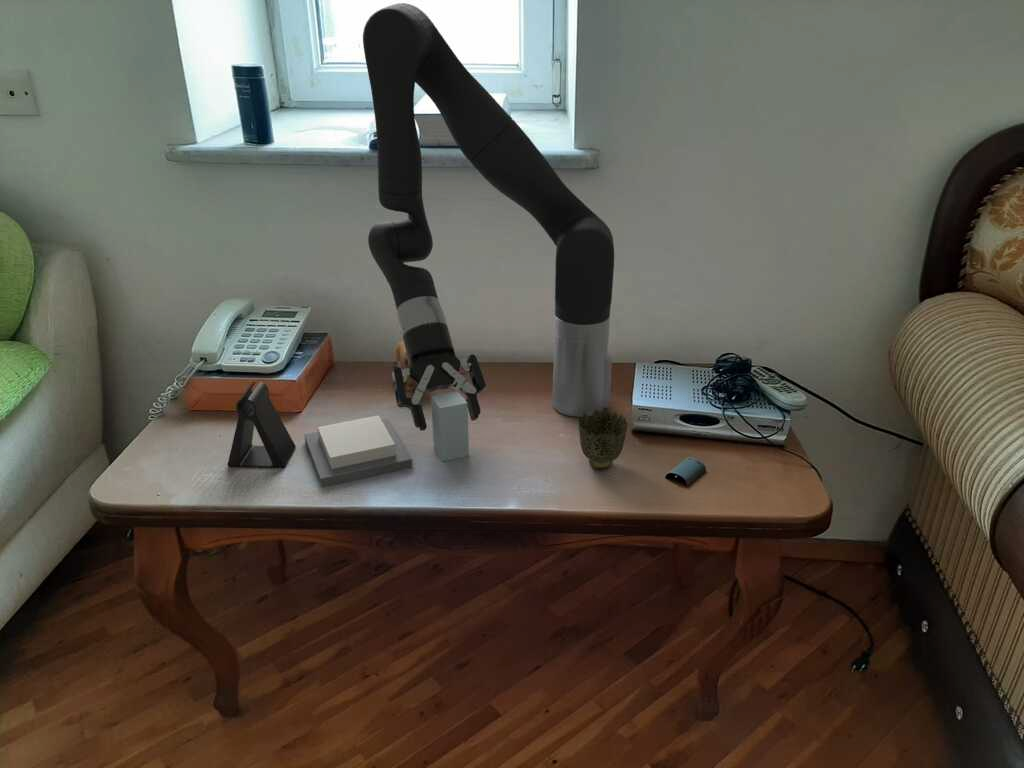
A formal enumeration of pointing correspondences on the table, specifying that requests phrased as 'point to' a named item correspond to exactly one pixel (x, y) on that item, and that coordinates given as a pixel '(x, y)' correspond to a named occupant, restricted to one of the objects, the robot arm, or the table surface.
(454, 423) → the blue-grey block
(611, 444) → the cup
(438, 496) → the table surface
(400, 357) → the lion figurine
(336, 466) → the display stand
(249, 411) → the black phone stand
